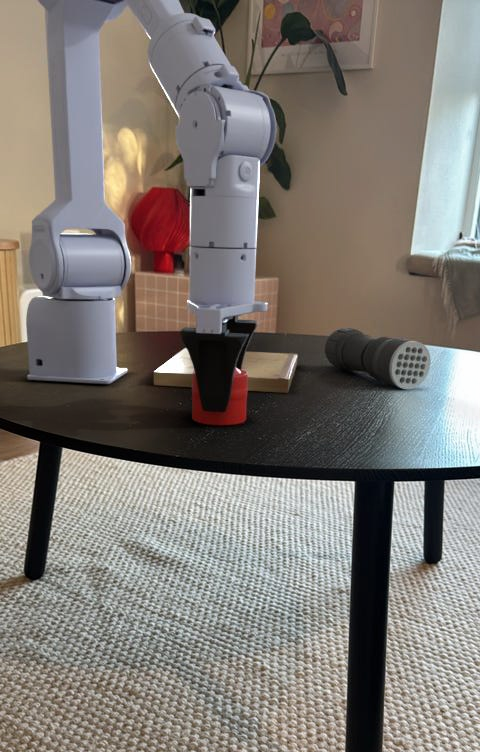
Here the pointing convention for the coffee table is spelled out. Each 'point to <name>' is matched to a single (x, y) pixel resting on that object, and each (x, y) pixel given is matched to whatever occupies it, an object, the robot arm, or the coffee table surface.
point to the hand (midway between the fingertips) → (219, 404)
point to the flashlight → (379, 357)
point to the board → (261, 367)
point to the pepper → (235, 406)
